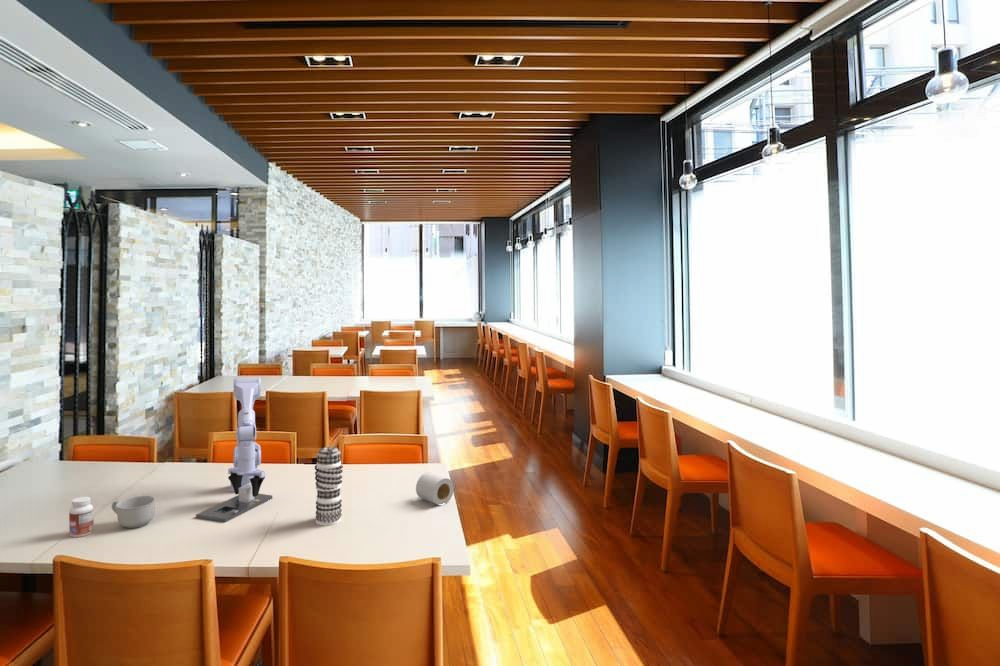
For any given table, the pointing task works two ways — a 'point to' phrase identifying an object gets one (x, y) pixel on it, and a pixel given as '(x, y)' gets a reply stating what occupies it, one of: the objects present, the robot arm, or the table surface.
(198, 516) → the panel
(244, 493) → the plug
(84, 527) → the pill bottle
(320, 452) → the grey patterned cylinder
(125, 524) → the teacup
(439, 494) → the toilet paper
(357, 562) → the table surface
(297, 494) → the table surface
